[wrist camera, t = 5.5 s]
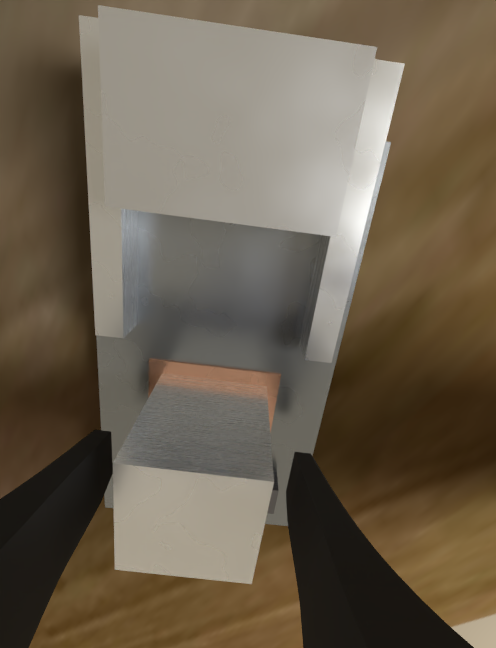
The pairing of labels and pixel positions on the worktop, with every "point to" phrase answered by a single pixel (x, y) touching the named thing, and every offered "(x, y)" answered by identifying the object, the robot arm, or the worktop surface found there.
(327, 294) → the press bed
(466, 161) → the worktop surface
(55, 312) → the worktop surface
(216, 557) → the white rectangular block
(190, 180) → the block
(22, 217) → the worktop surface
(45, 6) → the worktop surface
